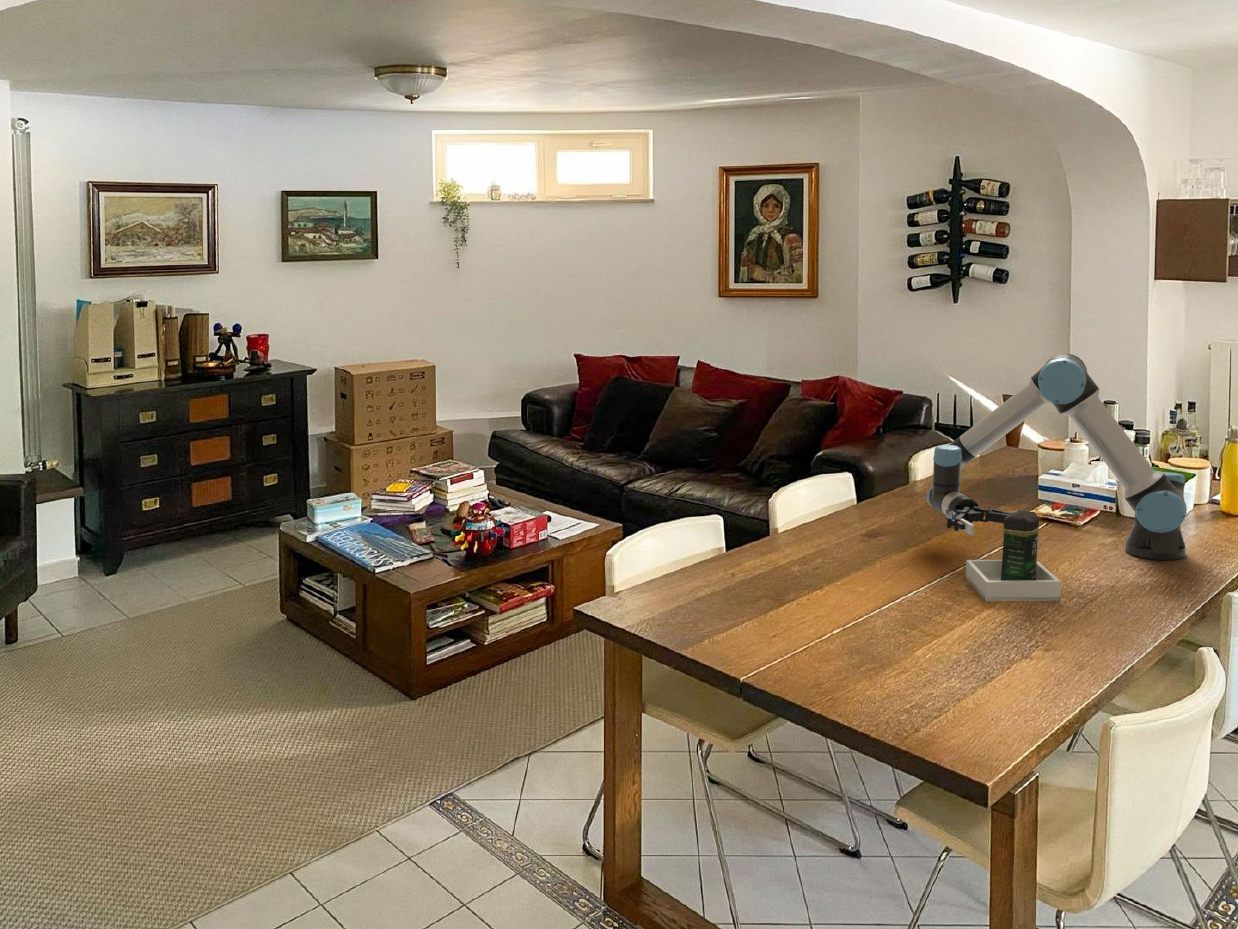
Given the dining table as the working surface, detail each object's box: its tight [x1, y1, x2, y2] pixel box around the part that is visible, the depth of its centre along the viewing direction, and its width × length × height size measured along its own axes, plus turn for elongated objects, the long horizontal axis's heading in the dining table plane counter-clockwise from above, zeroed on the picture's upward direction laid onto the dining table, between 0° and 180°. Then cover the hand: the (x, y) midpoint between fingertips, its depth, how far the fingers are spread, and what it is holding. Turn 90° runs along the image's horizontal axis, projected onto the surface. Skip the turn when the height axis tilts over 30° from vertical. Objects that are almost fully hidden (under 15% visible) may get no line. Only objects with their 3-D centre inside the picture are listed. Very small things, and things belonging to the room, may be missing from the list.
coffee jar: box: [1001, 509, 1040, 581], centre depth 272 cm, size 10×8×19 cm
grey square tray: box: [964, 559, 1062, 602], centre depth 272 cm, size 18×18×5 cm
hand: (997, 528), depth 278 cm, fingers open, 13 cm apart
